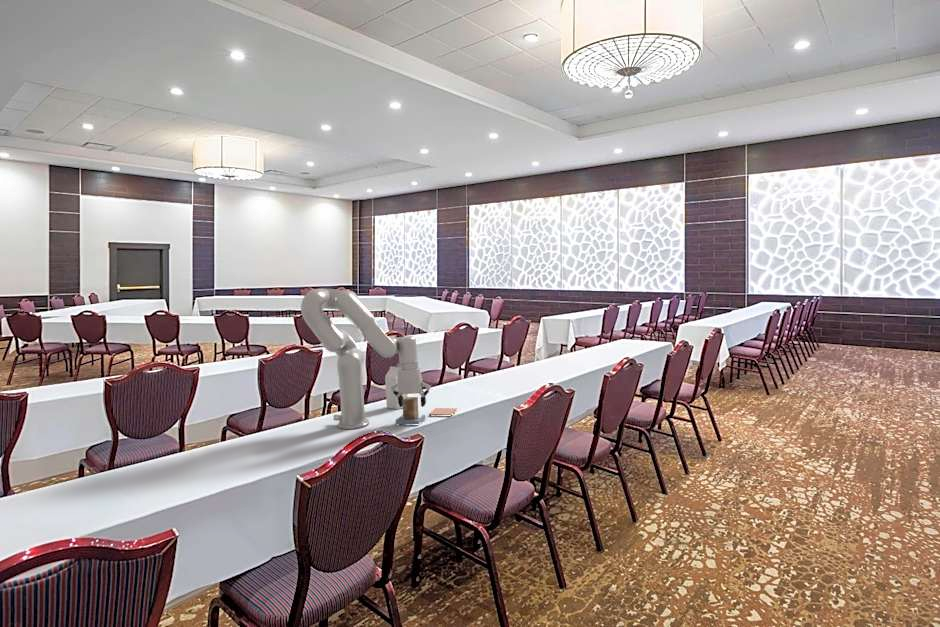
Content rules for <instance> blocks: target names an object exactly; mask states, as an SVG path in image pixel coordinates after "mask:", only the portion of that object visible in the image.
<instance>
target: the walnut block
mask: <svg viewBox="0 0 940 627" xmlns="http://www.w3.org/2000/svg"><path fill="white" fill-rule="evenodd" d="M418 399H419V397H418V396H408V397H406V398H404V399H403V400H402V403H403V408H402V415H403V420H418V419H419V418H420V417H419V400H418Z"/></svg>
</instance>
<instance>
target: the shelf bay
mask: <svg viewBox="0 0 940 627" xmlns="http://www.w3.org/2000/svg"><path fill="white" fill-rule="evenodd" d="M424 419H425V420H426V414H422V415H420V417H419V419H418V420H403V414H401V416H398V417H397V418H396V419H395V425H396V424H419V423H420V422H422V421H423V420H424ZM425 420H424V421H425ZM424 421H423V422H424ZM423 422H422V423H423Z"/></svg>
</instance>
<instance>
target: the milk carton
mask: <svg viewBox="0 0 940 627" xmlns="http://www.w3.org/2000/svg"><path fill="white" fill-rule="evenodd" d="M398 370H400V367H397V366H389V370H388V371H387V373H386V374H385V375H384V379H385V380H384V381H385V383H384V384H385V397H386V398H385V399H386V402H385V403H386V408H387V409H391V410H400V409H403V406H402V407H399V404H398V398H397V396H396V395H395V394H394V393H393V391H392V389H391V387H392V386H394V385H396V384H397V383H398ZM396 390H397V391H398V387H396ZM402 396H403V399H404V398H406V397H409V396H408V394H402Z"/></svg>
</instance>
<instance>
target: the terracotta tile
mask: <svg viewBox="0 0 940 627" xmlns="http://www.w3.org/2000/svg"><path fill="white" fill-rule="evenodd" d="M456 410H457V411H458V408H451V407H450V408H446V407H444V408H443V407H435V408H434V409H433V410H432V411H430V412H429V413H428V416H429V415H451V414H452V413H454V412H455V411H456ZM457 411H456V412H457ZM456 412H455V413H456ZM455 413H454V414H455Z"/></svg>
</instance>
